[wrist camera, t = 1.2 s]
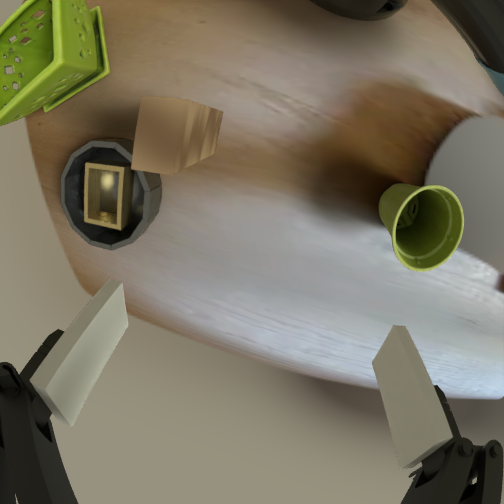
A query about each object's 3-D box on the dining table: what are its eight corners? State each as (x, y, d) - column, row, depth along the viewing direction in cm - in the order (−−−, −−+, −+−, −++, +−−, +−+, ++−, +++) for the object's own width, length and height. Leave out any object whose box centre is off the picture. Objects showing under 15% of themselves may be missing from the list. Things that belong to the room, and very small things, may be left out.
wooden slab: (197, 108, 28) (141, 95, 14) (223, 111, 28) (184, 99, 15) (189, 149, 30) (131, 169, 17) (214, 153, 30) (171, 175, 17)
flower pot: (126, 78, 26) (62, 65, 15) (51, 122, 28) (-14, 133, 17) (112, 0, 21) (58, -29, 9) (41, 48, 23) (-17, 43, 11)
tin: (80, 136, 29) (62, 139, 26) (168, 144, 30) (155, 146, 26) (78, 227, 35) (62, 237, 32) (157, 245, 36) (145, 259, 32)
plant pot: (360, 239, 34) (384, 272, 26) (369, 165, 30) (400, 180, 22) (420, 241, 33) (451, 271, 25) (431, 174, 29) (470, 191, 21)
